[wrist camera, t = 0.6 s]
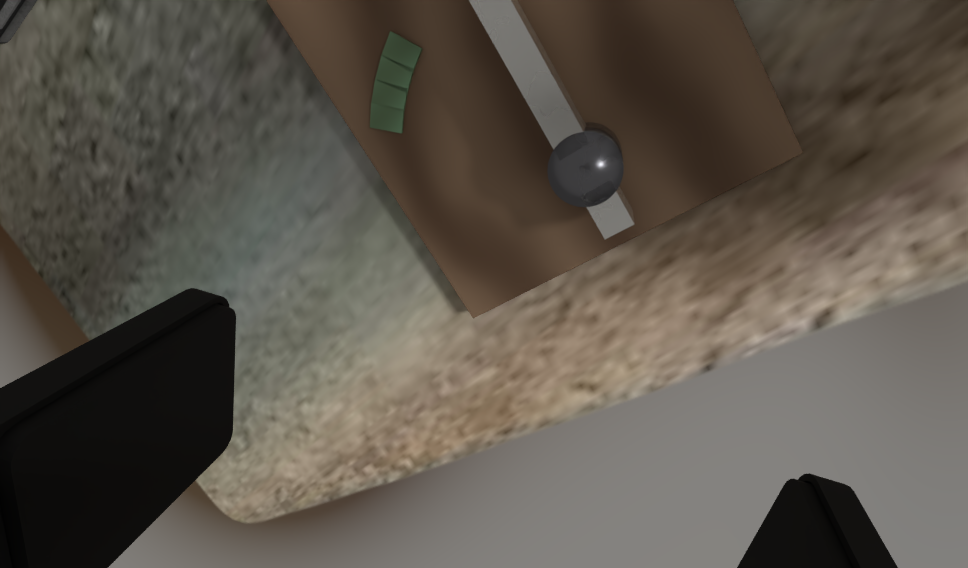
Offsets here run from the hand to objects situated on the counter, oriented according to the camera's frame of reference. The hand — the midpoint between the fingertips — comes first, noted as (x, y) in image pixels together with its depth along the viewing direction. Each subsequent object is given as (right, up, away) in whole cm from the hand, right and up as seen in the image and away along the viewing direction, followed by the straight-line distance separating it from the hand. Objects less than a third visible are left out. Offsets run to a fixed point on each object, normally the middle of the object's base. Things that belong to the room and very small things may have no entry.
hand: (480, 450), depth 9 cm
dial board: (+2, +15, +22) cm, 27 cm away
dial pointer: (+3, +14, +20) cm, 25 cm away
